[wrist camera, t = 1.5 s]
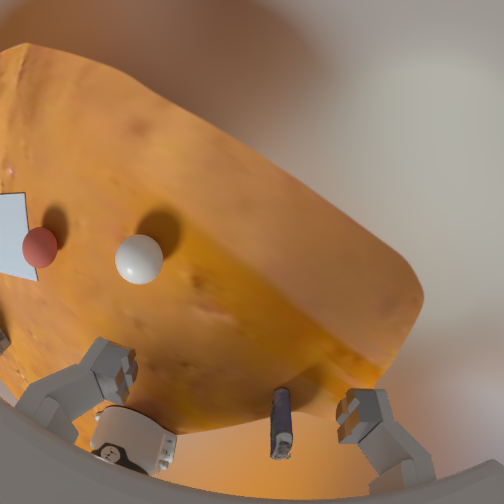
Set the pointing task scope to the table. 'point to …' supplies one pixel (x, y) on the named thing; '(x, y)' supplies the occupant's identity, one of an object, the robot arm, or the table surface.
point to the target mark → (14, 236)
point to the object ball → (39, 247)
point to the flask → (281, 425)
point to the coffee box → (3, 342)
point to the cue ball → (139, 259)
